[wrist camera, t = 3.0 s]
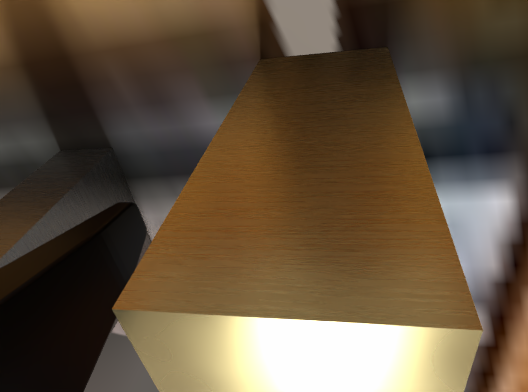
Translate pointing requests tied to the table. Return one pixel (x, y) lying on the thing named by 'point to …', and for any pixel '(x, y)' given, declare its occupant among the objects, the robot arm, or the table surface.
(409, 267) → the square bit
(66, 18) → the table surface
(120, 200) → the bar
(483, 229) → the table surface
